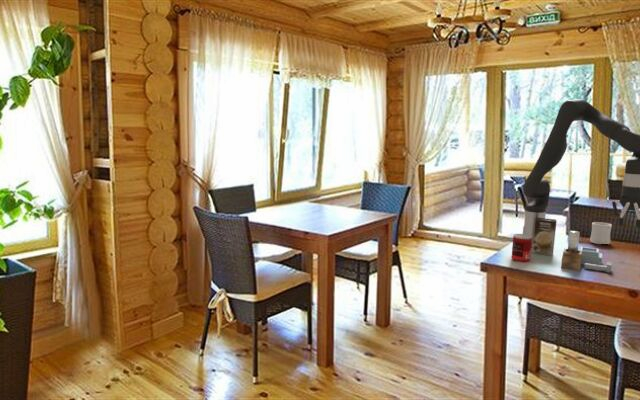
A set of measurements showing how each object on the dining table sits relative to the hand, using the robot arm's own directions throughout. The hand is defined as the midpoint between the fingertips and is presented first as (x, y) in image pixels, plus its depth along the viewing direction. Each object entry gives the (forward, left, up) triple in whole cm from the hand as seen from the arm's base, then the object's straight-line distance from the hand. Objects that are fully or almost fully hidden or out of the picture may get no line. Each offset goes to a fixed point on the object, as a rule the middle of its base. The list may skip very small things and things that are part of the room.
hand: (628, 227), depth 197 cm
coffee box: (-32, +17, -20) cm, 41 cm away
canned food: (-39, -1, -20) cm, 44 cm away
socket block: (-19, 0, -19) cm, 27 cm away
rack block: (-13, +10, -19) cm, 25 cm away
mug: (-10, +56, -20) cm, 60 cm away
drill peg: (-19, 0, -14) cm, 24 cm away
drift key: (-10, 0, -19) cm, 22 cm away
